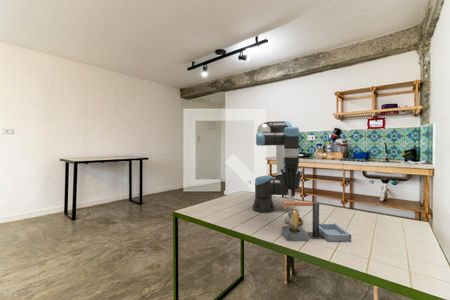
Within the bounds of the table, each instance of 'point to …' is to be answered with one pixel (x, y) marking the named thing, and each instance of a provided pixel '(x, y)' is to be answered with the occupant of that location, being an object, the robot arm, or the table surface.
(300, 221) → the rainbow disc toy
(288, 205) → the swing bar
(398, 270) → the table surface
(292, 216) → the pin
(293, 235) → the hitch block
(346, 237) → the tray
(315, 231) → the gate post
